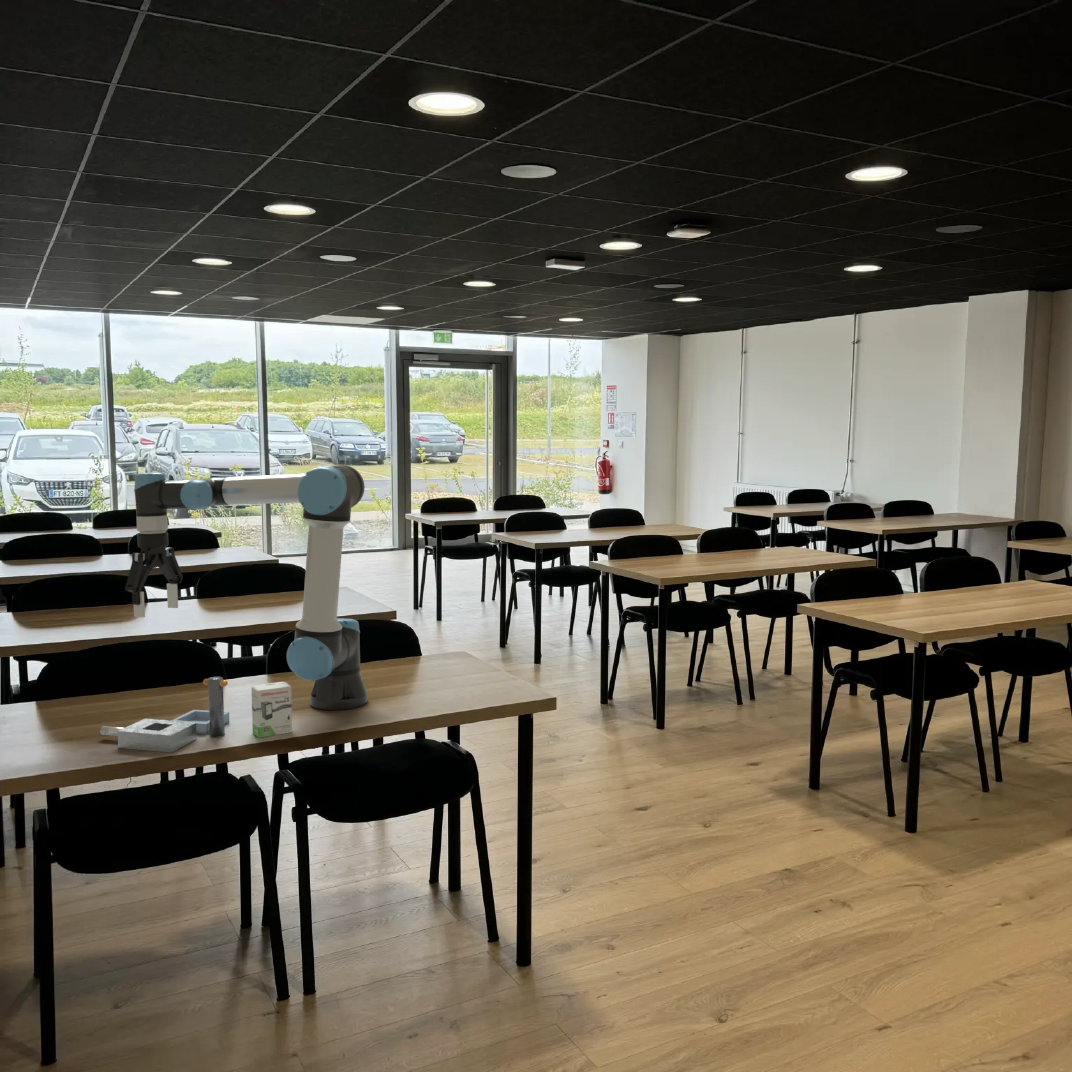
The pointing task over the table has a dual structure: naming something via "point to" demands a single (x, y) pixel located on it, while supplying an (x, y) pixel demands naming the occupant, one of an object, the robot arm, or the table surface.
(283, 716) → the ink box
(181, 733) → the block
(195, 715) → the parts tray
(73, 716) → the table surface
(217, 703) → the pin
